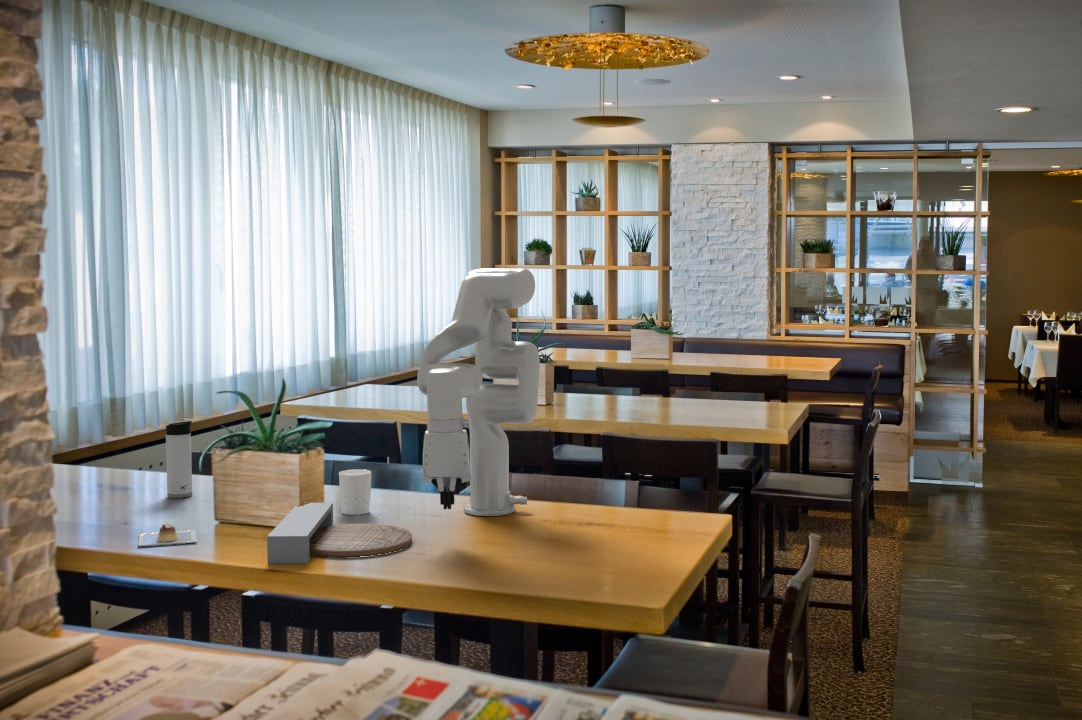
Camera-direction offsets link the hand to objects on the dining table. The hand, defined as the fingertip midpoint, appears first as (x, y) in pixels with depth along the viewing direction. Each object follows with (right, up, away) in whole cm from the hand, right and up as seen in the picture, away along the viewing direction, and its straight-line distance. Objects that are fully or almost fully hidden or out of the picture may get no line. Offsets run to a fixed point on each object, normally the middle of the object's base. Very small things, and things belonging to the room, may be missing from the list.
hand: (447, 507), depth 241 cm
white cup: (-25, -5, +30) cm, 40 cm away
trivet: (-20, -8, -1) cm, 22 cm away
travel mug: (-75, -4, +50) cm, 90 cm away
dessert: (-62, -8, +2) cm, 63 cm away
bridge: (-31, -8, -2) cm, 32 cm away
